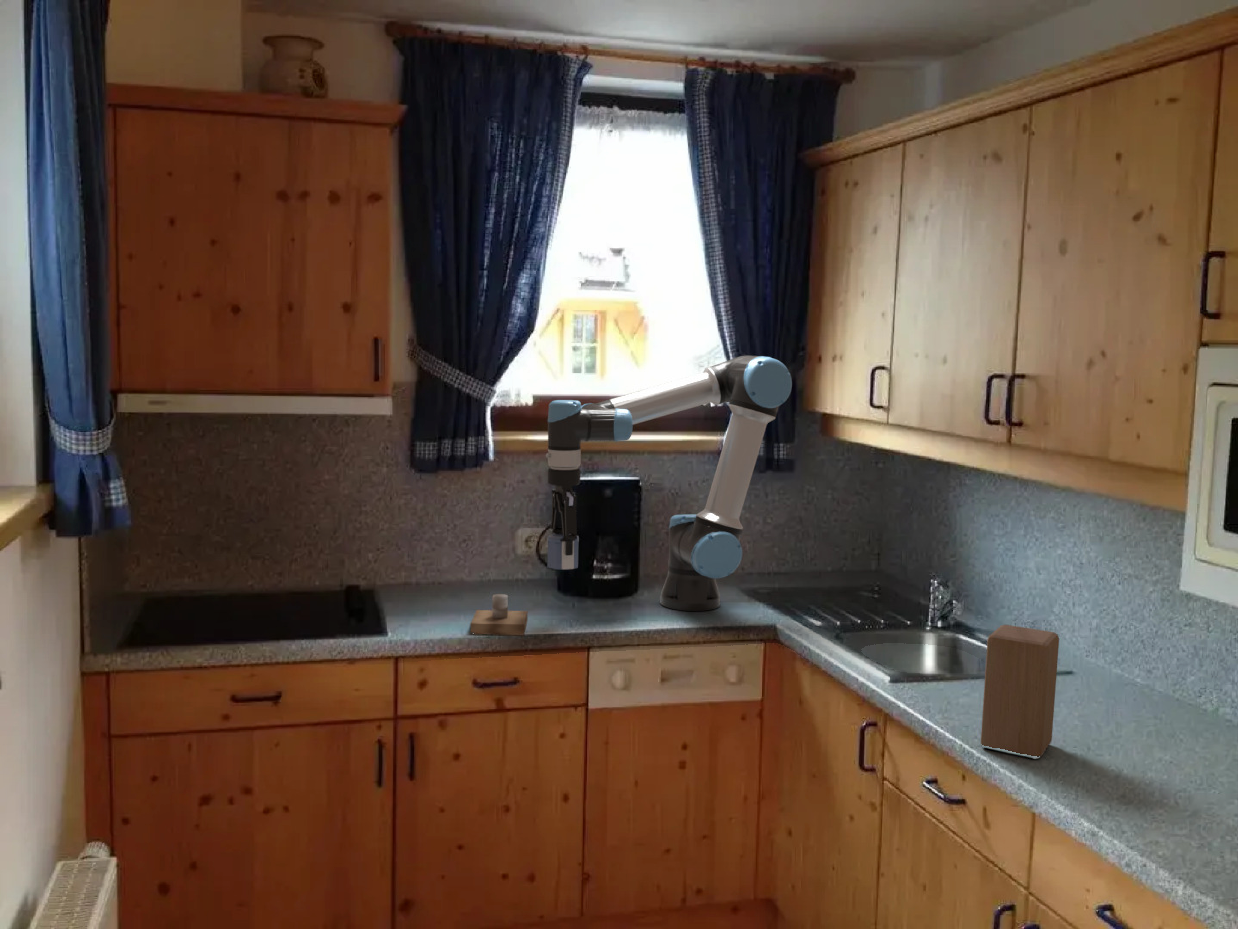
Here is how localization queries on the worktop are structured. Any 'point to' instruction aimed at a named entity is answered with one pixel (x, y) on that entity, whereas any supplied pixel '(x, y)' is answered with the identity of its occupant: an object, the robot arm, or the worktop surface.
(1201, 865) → the worktop surface
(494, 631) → the stud block
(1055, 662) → the wooden block
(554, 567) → the cap
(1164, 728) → the worktop surface
